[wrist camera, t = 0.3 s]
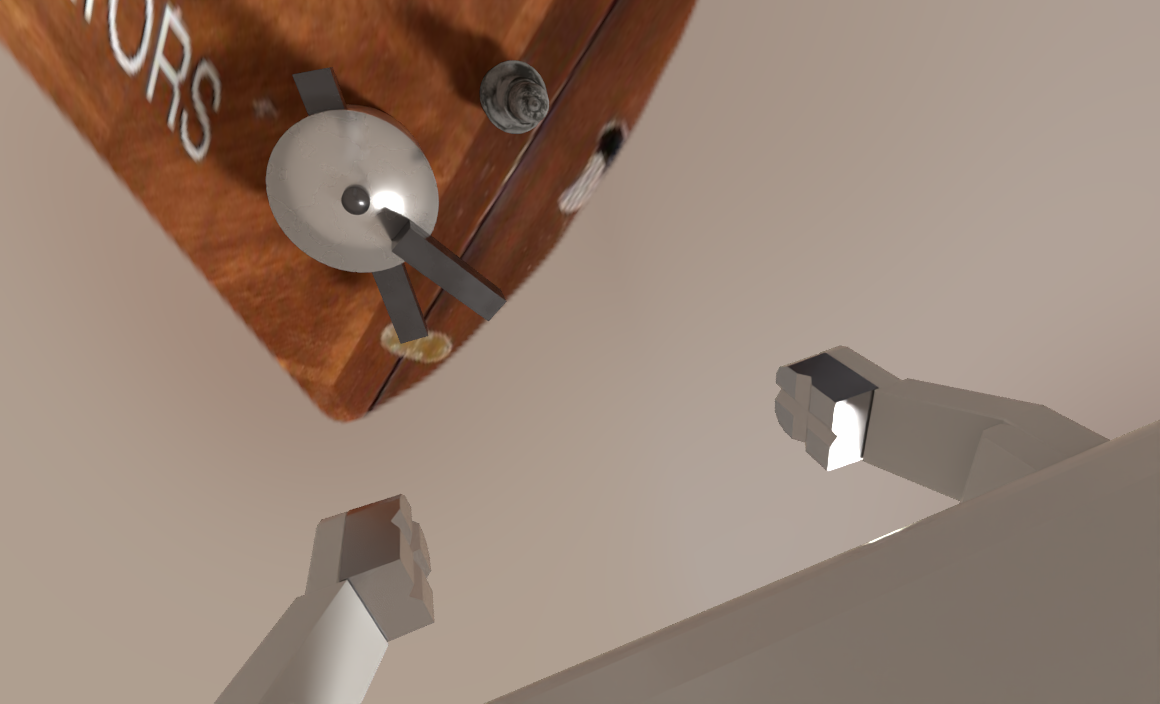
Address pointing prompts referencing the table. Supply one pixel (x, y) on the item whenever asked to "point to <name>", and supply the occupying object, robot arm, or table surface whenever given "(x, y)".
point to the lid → (366, 202)
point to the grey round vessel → (514, 97)
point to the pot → (394, 282)
